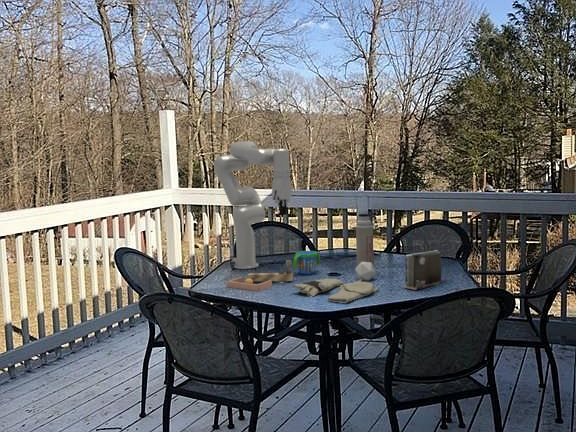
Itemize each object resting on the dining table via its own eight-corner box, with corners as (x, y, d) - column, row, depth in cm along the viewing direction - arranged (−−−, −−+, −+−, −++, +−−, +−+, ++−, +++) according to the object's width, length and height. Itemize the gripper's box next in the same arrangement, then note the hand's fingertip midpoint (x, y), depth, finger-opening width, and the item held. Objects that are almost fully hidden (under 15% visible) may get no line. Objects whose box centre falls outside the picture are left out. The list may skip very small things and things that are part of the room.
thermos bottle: (377, 273, 267) (376, 213, 264) (363, 275, 263) (361, 215, 260) (367, 270, 274) (366, 212, 271) (353, 272, 270) (352, 214, 267)
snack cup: (313, 269, 282) (313, 248, 280) (326, 272, 273) (326, 251, 272) (287, 274, 273) (286, 253, 272) (299, 277, 264) (299, 256, 263)
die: (379, 280, 256) (371, 261, 260) (375, 274, 249) (368, 255, 253) (362, 286, 257) (355, 267, 262) (358, 281, 250) (351, 261, 254)
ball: (242, 280, 250) (247, 276, 252) (244, 287, 251) (249, 283, 254) (248, 281, 248) (253, 277, 250) (250, 288, 249) (255, 284, 252)
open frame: (227, 287, 251) (226, 281, 251) (241, 282, 260) (241, 276, 260) (257, 291, 242) (257, 285, 241) (272, 285, 250) (271, 280, 250)
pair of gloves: (288, 294, 236) (288, 282, 235) (328, 282, 254) (328, 271, 253) (345, 306, 215) (345, 292, 214) (385, 292, 233) (384, 280, 232)
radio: (434, 278, 252) (434, 245, 250) (450, 281, 245) (450, 247, 243) (399, 288, 238) (398, 253, 236) (415, 291, 231) (414, 255, 230)
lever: (248, 281, 257) (247, 261, 256) (249, 279, 260) (248, 260, 259) (292, 280, 255) (291, 260, 254) (292, 279, 258) (292, 259, 257)
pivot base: (272, 282, 256) (272, 281, 256) (279, 279, 261) (279, 279, 261) (283, 283, 253) (283, 283, 253) (290, 281, 258) (290, 280, 258)
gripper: (284, 174, 273) (285, 212, 275) (265, 176, 261) (267, 216, 263) (297, 174, 269) (298, 213, 271) (279, 176, 257) (280, 216, 259)
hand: (283, 214), depth 267 cm, fingers closed
